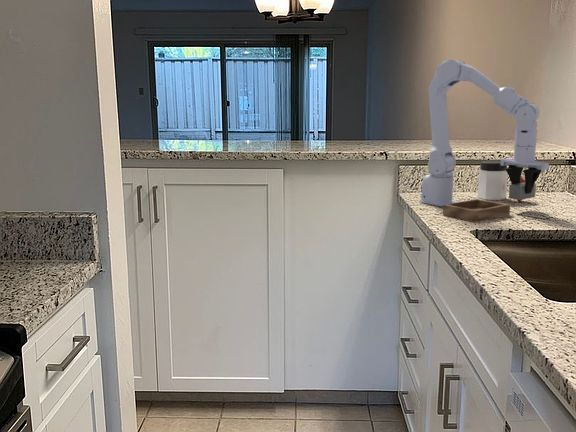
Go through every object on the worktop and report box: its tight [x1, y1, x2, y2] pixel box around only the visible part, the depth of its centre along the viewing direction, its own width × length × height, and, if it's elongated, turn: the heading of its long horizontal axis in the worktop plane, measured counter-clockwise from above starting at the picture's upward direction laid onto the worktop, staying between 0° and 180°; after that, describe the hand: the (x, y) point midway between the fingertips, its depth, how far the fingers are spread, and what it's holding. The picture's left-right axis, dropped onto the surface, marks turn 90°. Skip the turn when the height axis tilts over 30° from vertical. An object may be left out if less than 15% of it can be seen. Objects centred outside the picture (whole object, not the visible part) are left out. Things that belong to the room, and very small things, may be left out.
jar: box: [477, 159, 509, 201], centre depth 191 cm, size 9×8×12 cm
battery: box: [508, 182, 537, 201], centre depth 171 cm, size 4×8×4 cm, turn 123°
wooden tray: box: [442, 198, 511, 223], centre depth 167 cm, size 12×14×3 cm
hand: (521, 192), depth 171 cm, fingers closed on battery, 4 cm apart
